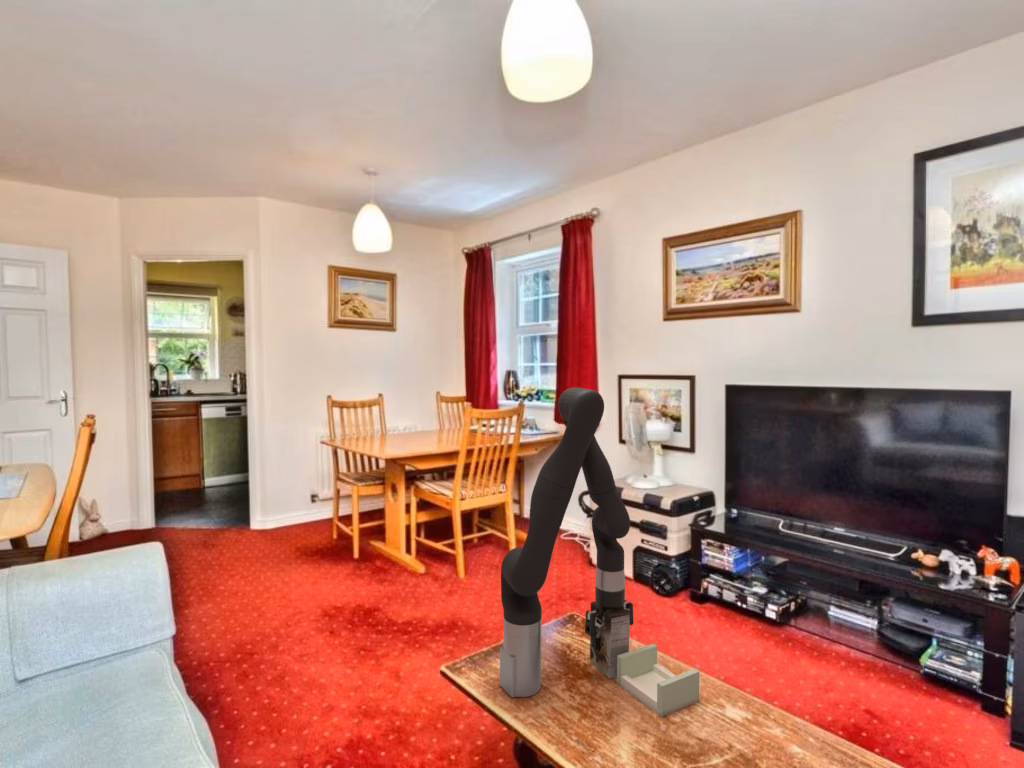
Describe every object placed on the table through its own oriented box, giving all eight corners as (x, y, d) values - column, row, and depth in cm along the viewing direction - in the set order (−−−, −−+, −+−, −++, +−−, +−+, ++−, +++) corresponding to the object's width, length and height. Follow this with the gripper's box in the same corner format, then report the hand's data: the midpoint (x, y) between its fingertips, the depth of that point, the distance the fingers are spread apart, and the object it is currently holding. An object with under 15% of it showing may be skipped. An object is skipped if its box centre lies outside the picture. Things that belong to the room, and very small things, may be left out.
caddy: (661, 717, 124) (662, 686, 123) (616, 683, 136) (617, 655, 136) (698, 700, 130) (699, 671, 129) (652, 670, 143) (652, 643, 142)
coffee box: (588, 661, 146) (589, 601, 146) (608, 656, 149) (609, 597, 149) (608, 679, 138) (609, 616, 138) (629, 673, 141) (630, 611, 140)
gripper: (597, 595, 136) (597, 660, 137) (640, 584, 143) (640, 645, 144) (579, 584, 142) (578, 646, 143) (621, 574, 150) (620, 633, 150)
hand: (609, 646), depth 143 cm, fingers open, 8 cm apart
